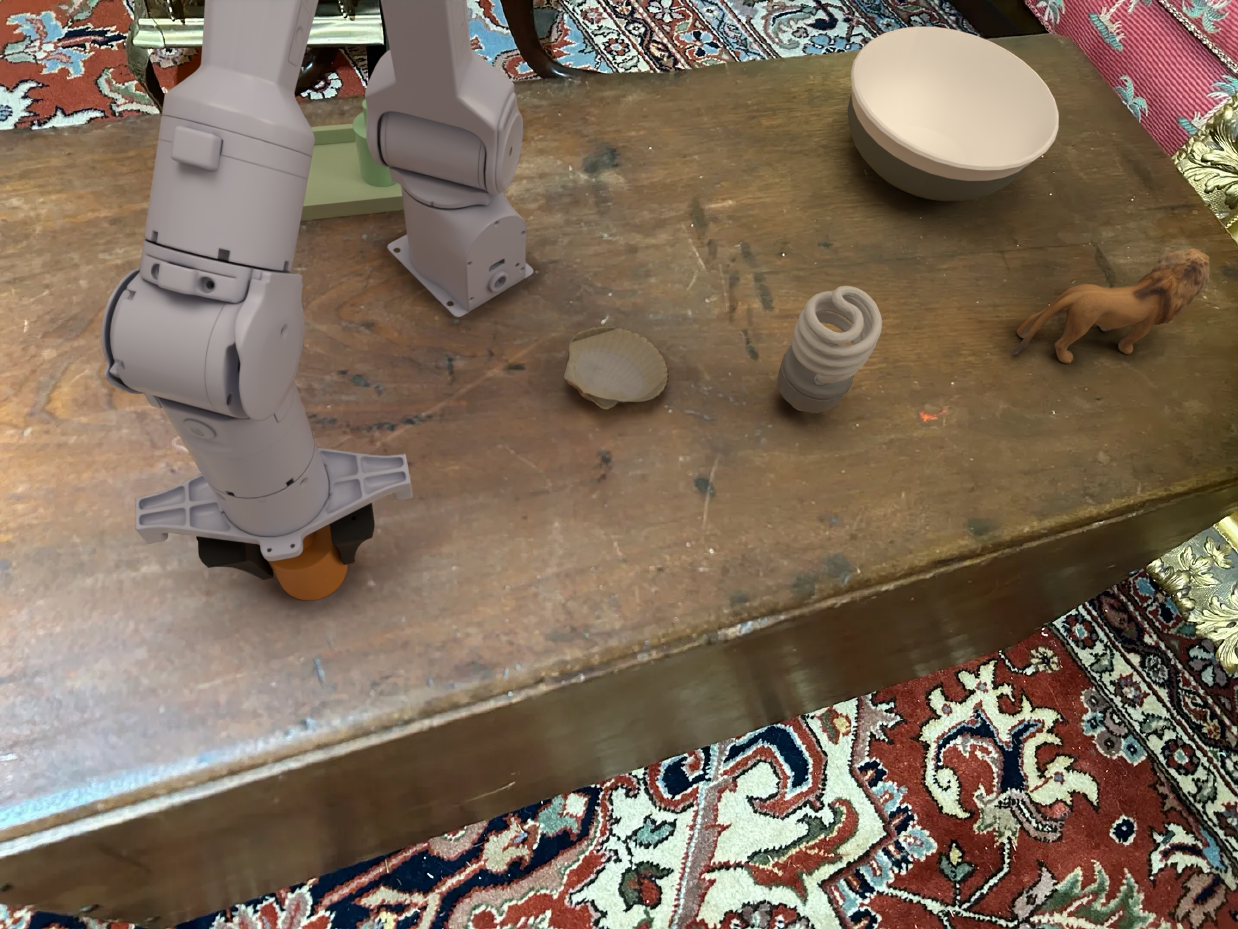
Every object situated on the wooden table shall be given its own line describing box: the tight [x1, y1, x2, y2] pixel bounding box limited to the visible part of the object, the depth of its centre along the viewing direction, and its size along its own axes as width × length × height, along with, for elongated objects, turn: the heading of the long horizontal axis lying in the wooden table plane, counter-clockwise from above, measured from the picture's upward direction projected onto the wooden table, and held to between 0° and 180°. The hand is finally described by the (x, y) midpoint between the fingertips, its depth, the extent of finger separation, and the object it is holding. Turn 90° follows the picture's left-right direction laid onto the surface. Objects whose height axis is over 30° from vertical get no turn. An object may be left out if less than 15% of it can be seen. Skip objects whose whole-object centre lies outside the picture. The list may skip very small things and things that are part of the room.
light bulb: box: [776, 285, 883, 414], centre depth 66 cm, size 6×6×12 cm
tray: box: [300, 123, 404, 222], centre depth 77 cm, size 19×9×2 cm, turn 105°
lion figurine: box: [1011, 247, 1211, 364], centre depth 73 cm, size 15×5×9 cm, turn 110°
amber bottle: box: [267, 524, 348, 601], centre depth 57 cm, size 4×4×7 cm
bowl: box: [846, 26, 1060, 202], centre depth 83 cm, size 19×19×8 cm
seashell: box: [563, 325, 669, 411], centre depth 69 cm, size 8×3×8 cm
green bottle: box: [352, 98, 396, 187], centre depth 74 cm, size 4×4×7 cm
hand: (307, 557), depth 58 cm, fingers closed on amber bottle, 4 cm apart
